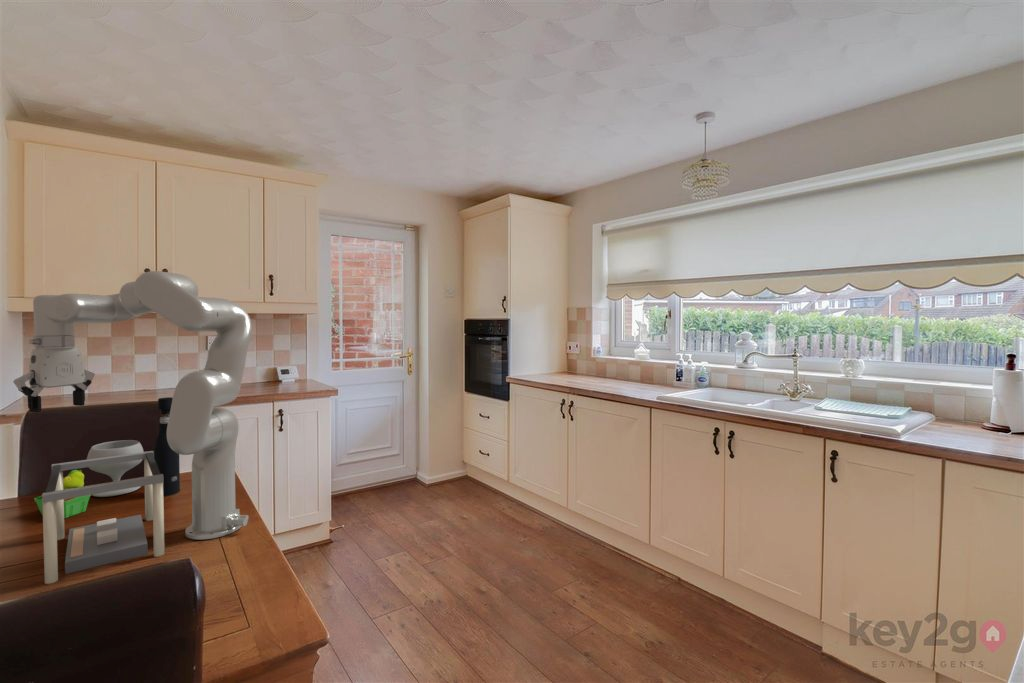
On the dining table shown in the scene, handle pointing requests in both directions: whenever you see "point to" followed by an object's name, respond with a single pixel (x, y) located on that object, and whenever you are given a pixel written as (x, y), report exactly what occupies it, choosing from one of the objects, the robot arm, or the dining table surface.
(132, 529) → the four-post gantry frame
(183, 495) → the dining table surface
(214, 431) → the robot arm
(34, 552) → the dining table surface
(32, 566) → the dining table surface
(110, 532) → the pale grey block
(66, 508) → the fruit basket
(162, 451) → the dark water bottle
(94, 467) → the chalice
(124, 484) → the rectangular top frame
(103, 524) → the beige small block
